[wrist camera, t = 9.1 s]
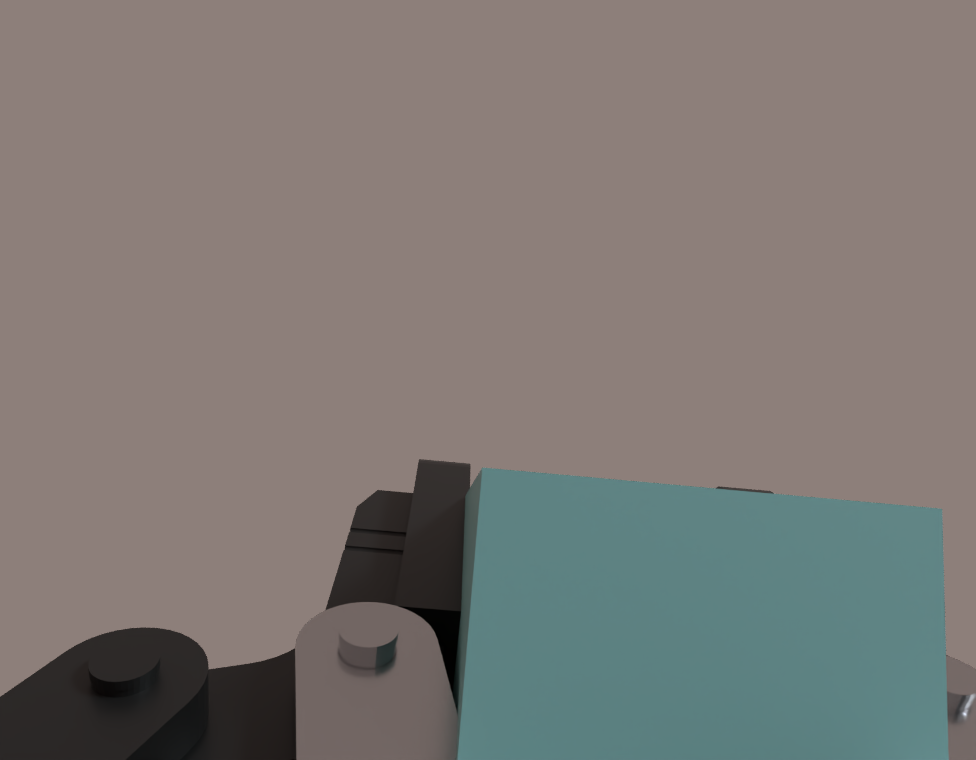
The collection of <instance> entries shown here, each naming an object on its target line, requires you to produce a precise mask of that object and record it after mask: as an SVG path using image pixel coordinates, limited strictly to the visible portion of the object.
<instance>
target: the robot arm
mask: <svg viewBox="0 0 976 760" xmlns="http://www.w3.org/2000/svg"><path fill="white" fill-rule="evenodd" d="M469 489H470V464H466V463H455V462H444V461H432V460H421V459H420V460H419V463H418V469H417V475H416V481H415V487H414V493H403V492H392V491H382V490H377V491H376V492H375V493H374V494H372V495H371V496H370V497H369V498H367V499H366V500H365V501H364V502H362V503H361V504H360V505H359V506H357V508H356V512H355V515H354V518H353V522H352V525H351V529H350V532H349V535H348V539H347V541H346V545H345V550H344V551H343V554H342V558H341V562H340V565H339V568H338V571H337V574H336V577H335V581H334V584H333V587H332V591H331V594H330V597H329V600H328V604H327V607H326V610H325V611H323V612H321V613H320V614H318V615H316V616H315V617H314V618H312V619H311V620H310V621H308V622H307V624H305V625H304V627H303V628H302V629H301V631H300V632H299V635H298V637H297V639H296V646H295V649H293V650H291V651H289V652H287V653H285V654H282V655H280V656H278V657H275V658H272V659H268V660H265V661H261V662H256V663H250V664H244V665H237V666H230V667H223V668H216V669H209V670H208V661H207V656H206V654H205V652H204V650H203V649H202V648H201V647H200V646H199V645H198V643H197V642H195V641H194V640H192V639H191V638H189V637H187V636H185V635H183V634H181V633H178V632H174V631H171V630H166V629H160V628H130V629H124V630H117V631H114V632H109V633H105V634H102V635H99V636H96V637H94V638H91V639H88V640H86V641H84V642H82V643H80V644H78V645H76V646H74V647H73V648H71V649H69V650H68V651H66V652H64V653H63V654H62V655H60V656H59V657H57V658H56V659H55V660H53V661H51V662H50V663H49V664H47V665H46V666H44V667H43V668H41V669H40V670H38V671H37V672H36V673H34V674H33V675H31V676H30V677H28V678H27V679H25V680H24V681H23V682H21V683H20V684H18V685H17V686H15V687H14V688H12V689H11V690H10V691H8V692H7V693H5V694H4V695H2V696H1V697H0V760H456V755H457V728H458V714H457V710H456V707H455V703H454V699H453V695H452V691H453V682H454V672H455V663H456V654H457V645H458V635H459V626H460V617H461V600H462V573H463V547H464V520H465V496H466V494H467V492H468V491H469ZM716 489H726V490H737V491H748V492H759V493H771V494H774V493H773V492H771V491H762V490H752V489H740V488H729V487H717V488H716ZM946 678H947V717H948V755H949V760H976V669H975V668H973V667H971V666H970V665H968V664H965V663H963V662H961V661H960V660H957V659H955V658H952V657H950V656H948V655H946Z"/></svg>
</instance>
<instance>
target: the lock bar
mask: <svg viewBox="0 0 976 760" xmlns="http://www.w3.org/2000/svg"><path fill="white" fill-rule="evenodd" d="M945 643H946V642H945V602H944V565H943V529H942V509H937V508H926V507H916V506H904V505H893V504H882V503H871V502H860V501H849V500H837V499H826V498H815V497H803V496H793V495H782V494H771V493H759V492H748V491H737V490H726V489H714V488H704V487H692V486H681V485H670V484H659V483H647V482H637V481H625V480H614V479H603V478H592V477H580V476H570V475H558V474H547V473H536V472H525V471H514V470H502V469H491V468H482V469H481V471H480V473H479V474H478V476H477V478H476V479H475V481H474V482H473V484H472V486H471V487H470V489H469V491H468V492H467V494H466V496H465V520H464V547H463V573H462V600H461V617H460V626H459V635H458V645H457V654H456V663H455V672H454V682H453V691H452V695H453V699H454V703H455V707H456V710H457V714H458V728H457V755H456V760H949V755H948V717H947V678H946V644H945Z"/></svg>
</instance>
